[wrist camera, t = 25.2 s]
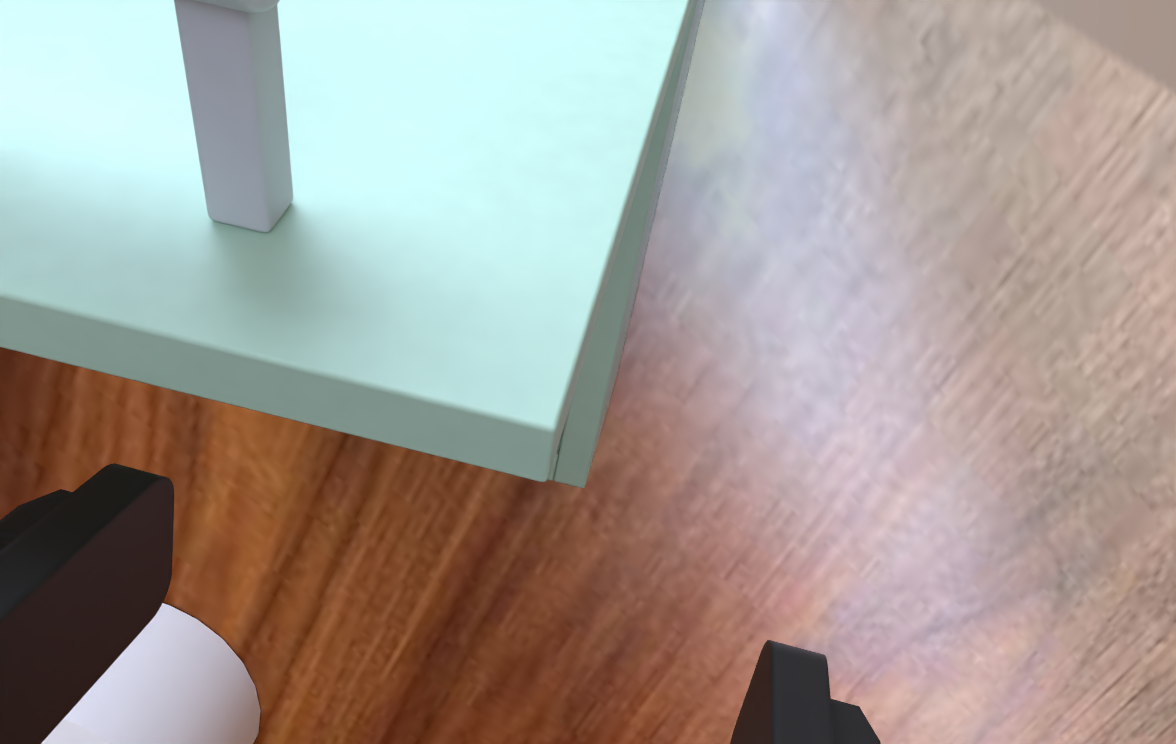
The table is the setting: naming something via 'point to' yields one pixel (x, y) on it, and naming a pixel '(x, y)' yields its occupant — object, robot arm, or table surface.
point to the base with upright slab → (167, 691)
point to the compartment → (621, 287)
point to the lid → (330, 202)
